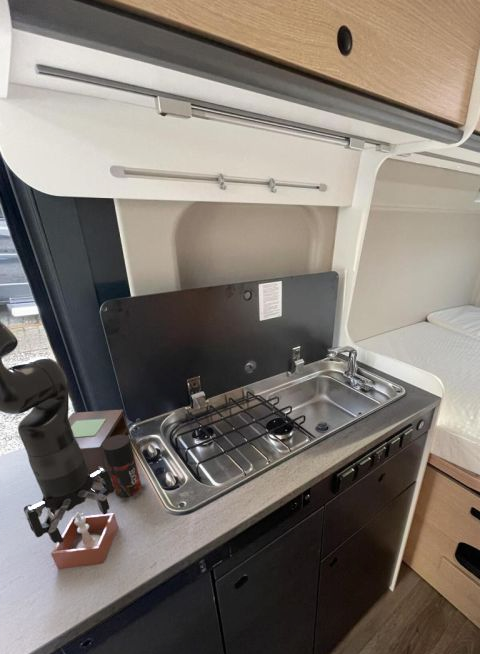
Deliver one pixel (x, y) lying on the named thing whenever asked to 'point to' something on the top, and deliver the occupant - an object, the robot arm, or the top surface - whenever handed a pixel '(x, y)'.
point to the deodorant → (122, 465)
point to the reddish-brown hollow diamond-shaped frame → (87, 555)
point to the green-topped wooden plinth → (97, 434)
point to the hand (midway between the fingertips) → (82, 525)
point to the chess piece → (85, 532)
